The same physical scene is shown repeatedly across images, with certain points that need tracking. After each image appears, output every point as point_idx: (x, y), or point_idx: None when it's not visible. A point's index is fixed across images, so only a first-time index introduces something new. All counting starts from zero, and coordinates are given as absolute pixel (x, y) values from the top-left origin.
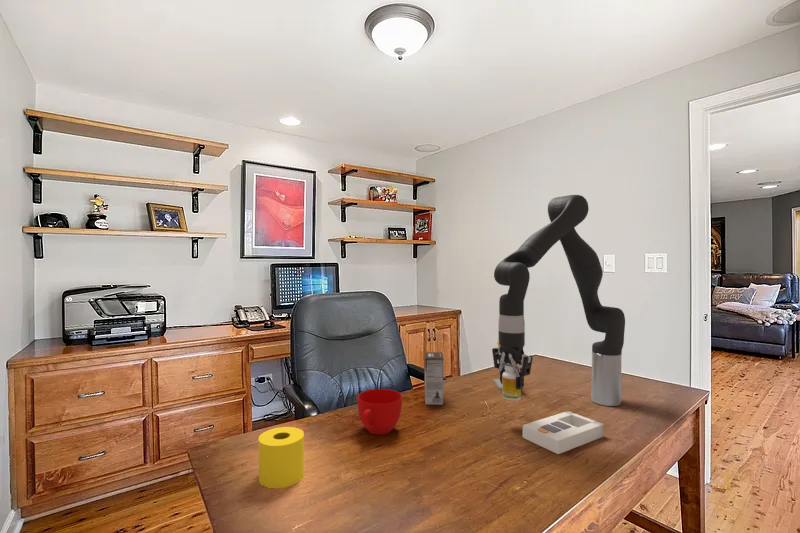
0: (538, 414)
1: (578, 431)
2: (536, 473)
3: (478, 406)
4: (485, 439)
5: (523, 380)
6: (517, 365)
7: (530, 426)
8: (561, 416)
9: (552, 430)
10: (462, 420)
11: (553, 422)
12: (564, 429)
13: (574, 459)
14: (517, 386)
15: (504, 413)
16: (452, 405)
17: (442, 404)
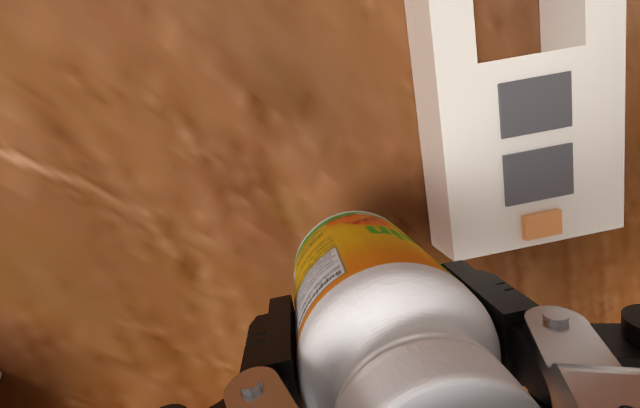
0: (262, 6)
1: (614, 79)
2: None
3: (69, 228)
4: None
5: (526, 302)
6: (501, 397)
7: (480, 240)
8: (459, 10)
9: (559, 186)
10: (208, 369)
11: (503, 117)
12: (570, 122)
13: (624, 189)
14: None
15: (194, 162)
16: (24, 335)
17: (1, 373)
